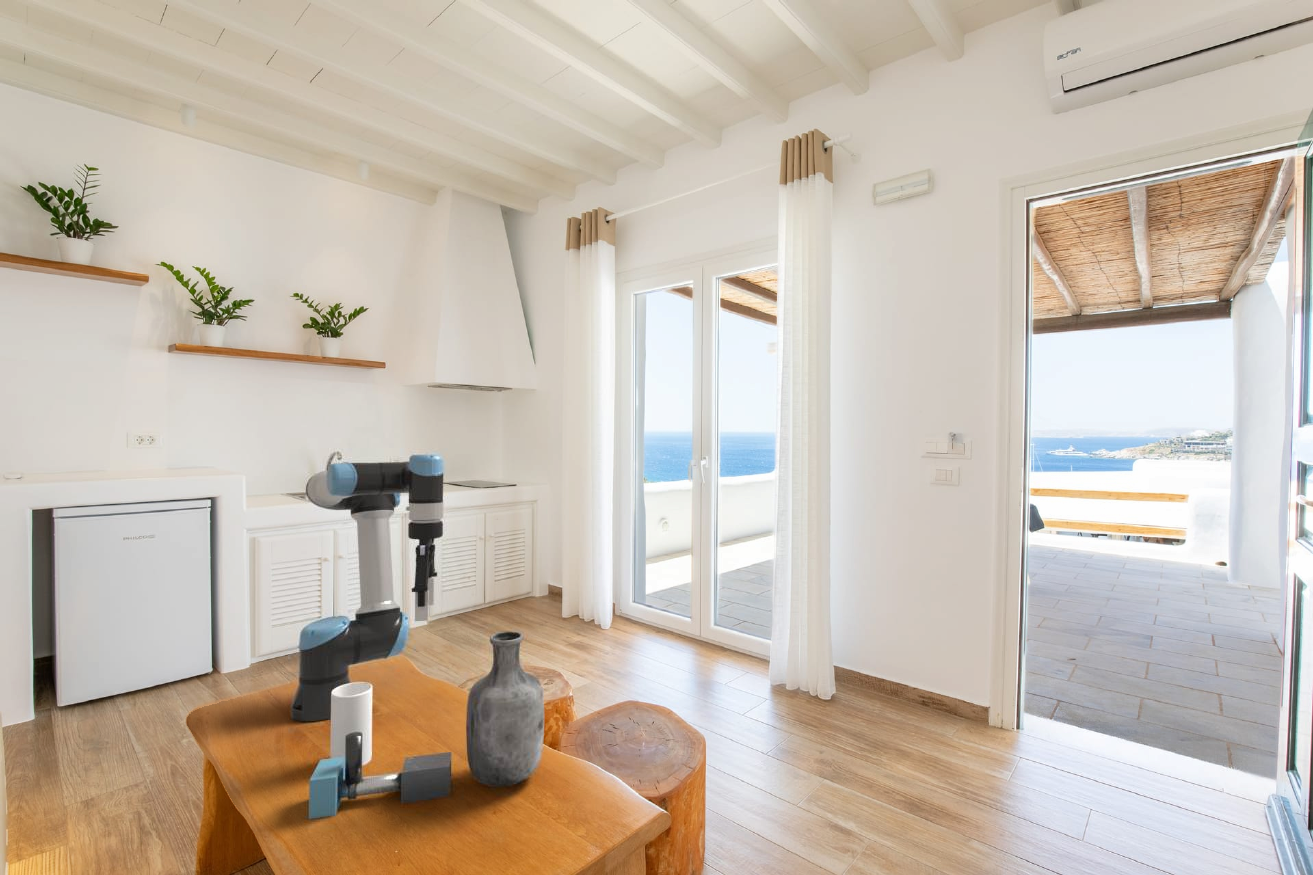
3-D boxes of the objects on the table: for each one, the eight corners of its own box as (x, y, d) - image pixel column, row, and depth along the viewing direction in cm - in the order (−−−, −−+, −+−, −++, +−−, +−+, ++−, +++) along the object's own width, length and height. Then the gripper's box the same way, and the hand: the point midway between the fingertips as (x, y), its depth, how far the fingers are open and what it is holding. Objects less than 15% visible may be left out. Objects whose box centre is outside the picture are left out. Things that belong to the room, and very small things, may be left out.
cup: (354, 772, 130) (355, 697, 130) (321, 768, 131) (322, 694, 132) (379, 753, 138) (380, 683, 138) (348, 750, 139) (348, 680, 140)
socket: (344, 792, 122) (345, 756, 122) (335, 815, 115) (335, 776, 115) (320, 795, 121) (320, 759, 121) (308, 818, 113) (309, 780, 114)
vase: (473, 808, 117) (475, 653, 117) (459, 769, 131) (460, 630, 132) (553, 787, 124) (554, 641, 125) (531, 752, 139) (532, 621, 139)
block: (451, 780, 127) (451, 751, 127) (449, 796, 121) (449, 766, 121) (405, 786, 124) (405, 757, 124) (401, 803, 119) (401, 772, 119)
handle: (418, 783, 124) (418, 723, 124) (415, 794, 120) (416, 732, 120) (325, 796, 120) (325, 734, 120) (319, 807, 116) (320, 743, 116)
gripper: (415, 515, 151) (414, 600, 151) (400, 528, 127) (399, 629, 127) (446, 514, 153) (445, 598, 153) (438, 527, 129) (437, 626, 129)
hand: (424, 612), depth 140 cm, fingers open, 13 cm apart
